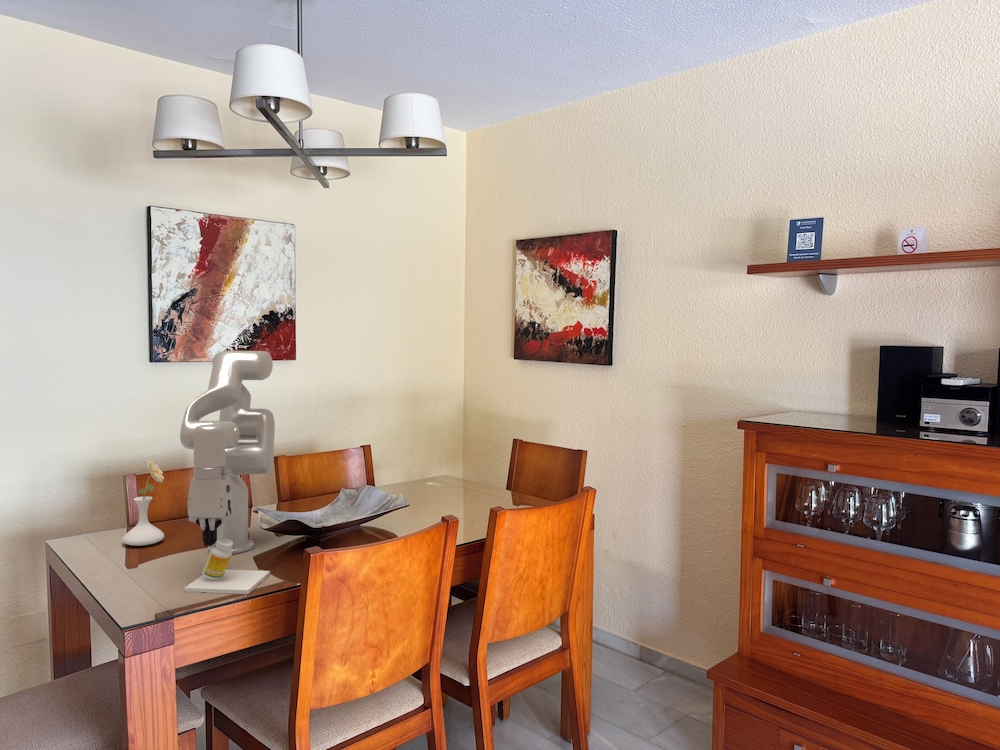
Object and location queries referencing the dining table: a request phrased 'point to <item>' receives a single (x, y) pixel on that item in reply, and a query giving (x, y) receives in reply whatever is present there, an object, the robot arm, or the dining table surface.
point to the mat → (229, 582)
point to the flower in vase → (145, 514)
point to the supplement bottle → (218, 559)
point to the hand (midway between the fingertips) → (209, 544)
